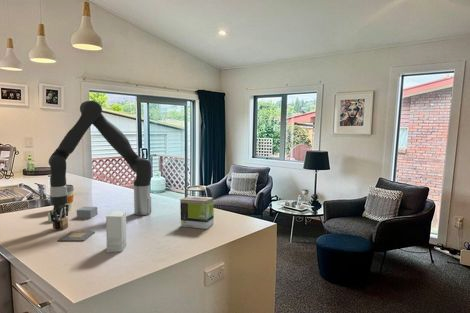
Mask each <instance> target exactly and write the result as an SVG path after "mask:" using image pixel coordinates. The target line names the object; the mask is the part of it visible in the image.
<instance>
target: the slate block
mask: <svg viewBox="0 0 470 313" xmlns="http://www.w3.org/2000/svg"><path fill="white" fill-rule="evenodd" d="M98 211H99V210H98V206H82V207H81V208H78V209H76V219H88V220H89V219H93V218H94V217H97V216H98V214H99V213H98Z"/></svg>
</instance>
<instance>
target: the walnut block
mask: <svg viewBox="0 0 470 313" xmlns="http://www.w3.org/2000/svg"><path fill="white" fill-rule="evenodd" d="M68 220H69V218H68V216H66V217H61V218H60V229H55V222H52V230H53V231H64V230H65V229H67V228H68V227H69V221H68Z"/></svg>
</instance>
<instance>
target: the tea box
mask: <svg viewBox="0 0 470 313" xmlns="http://www.w3.org/2000/svg"><path fill="white" fill-rule="evenodd" d="M179 201H180V203H179V204H180V207H179V208H180V227H185V228H195V229H201V230H202V229H204V230H207V229H209V228H210V227H212V226H213V225H214V223H215V222H214V220H215V219H214V218H215V216H214V197H210V196H209V197H208V196H198V195H197V196H196V195H187V196H185V197H183V198H181V199H180V200H179Z"/></svg>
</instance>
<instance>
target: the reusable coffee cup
mask: <svg viewBox="0 0 470 313" xmlns="http://www.w3.org/2000/svg"><path fill="white" fill-rule="evenodd" d="M66 186H67V197H68V203H67V204H65V205H69V209H68V212H69V211H71V210H72V207H73V202H74V195H75V194H74V190H75V188H74V185H73V184H66Z"/></svg>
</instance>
